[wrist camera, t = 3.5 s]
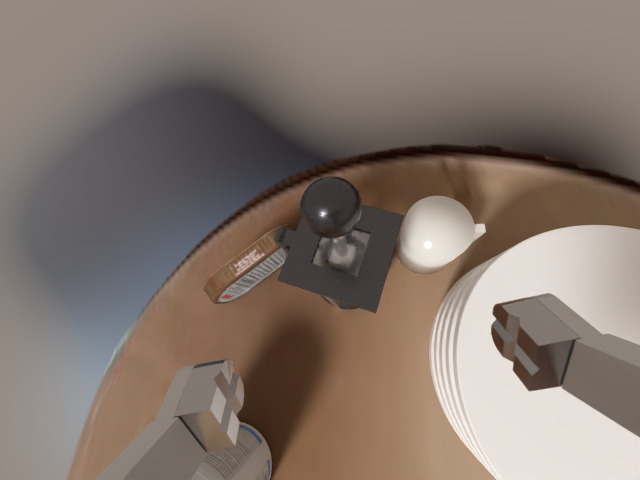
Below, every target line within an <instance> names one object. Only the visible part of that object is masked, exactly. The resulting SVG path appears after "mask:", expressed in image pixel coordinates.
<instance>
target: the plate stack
mask: <svg viewBox="0 0 640 480" xmlns="http://www.w3.org/2000/svg"><path fill="white" fill-rule="evenodd" d="M546 293H550V294H553V295H555V296H556V297H557V298H559V299H560V300H561V301H562V302H563V303H565V304H566V305H567V306H568V307H570V308H571V309H572V310H573V311H575V312H576V313H577V314H578V315H579V316H581V317H582V318H583V319H584V320H586V321H587V322H588V323H589V324H591V325H592V326H593V327H594V328H595V329H597V330H598V331H599V332H600V333H602V334H612V335H614V336H617V337H620V338H622V339H625V340H628V341H630V342H633V343H636V344H638V345H640V230H639V229H633V228H627V227H620V226H610V225H580V226H571V227H565V228H559V229H555V230H551V231H547V232H544V233H541V234H538V235H535V236H533V237H531V238H528V239H526V240H524V241H522V242H520V243H518V244H517V245H515V246H513V247H511V248H510V249H508V250H506V251H504V252H502V253H500V254H499V255H497V256H495V257H493V258H491V259H490V260H488V261H486V262H484V263H482V264H481V265H479V266H477V267H475V268H473V269H472V270H470V271H469V272H467V273H466V274H465V275H464V276H462V277H461V278H460V279H459V280H458V281H457V282H456V283H455V284H454V285H453V286H452V287H451V289H450V290H449V291H448V292H447V294H446V295H445V297H444V298H443V300H442V302H441V304H440V306H439V308H438V310H437V312H436V315H435V318H434V321H433V325H432V329H431V335H430V345H429V358H430V368H431V374H432V379H433V383H434V387H435V390H436V393H437V396H438V399H439V401H440V404H441V406H442V408H443V411H444V413H445V415H446V416H447V418H448V420H449V422H450V424H451V425H452V427H453V428H454V430H455V432H456V433H457V434H458V436H459V437H460V439H461V440H462V441H463V443H464V444H465V445H466V446H467V447H468V449H469V450H470V451H471V452H472V453H473V454H474V455H475V456H476V458H477V459H478V460H479V461H480V462H481V463H482V464H483V465H484V466H485V467H486V469H487V470H488V471H489V472H490V473H491V474H492V475H493V476H494V477H495V479H496V480H640V437H638V436H636V435H635V434H633V433H632V432H630V431H628V430H627V429H625V428H624V427H622V426H621V425H619V424H617V423H616V422H614V421H613V420H611V419H609V418H608V417H606V416H605V415H603V414H602V413H600V412H598V411H597V410H595V409H594V408H592V407H590V406H589V405H587V404H586V403H584V402H583V401H581V400H579V399H578V398H576V397H575V396H573V395H571V394H570V393H568V392H567V391H565V390H564V389H562V386H561V387H554V388H548V389H542V390H535V391H528V390H527V388H526V387H525V386H524V384H523V383H522V382H521V381H520V379H519V378H518V377H517V375H516V374H515V373H514V371H513V362H512V361H510V360H508V359H506V358H504V357H502V355H501V354H500V352H499V351H498V350H497V348H496V346H495V344H494V342H493V339H492V335H491V325H492V324H493V322H494V321H495V320H496V318H495V317H494V315H493V314H492V313H493V307H494V306H495V304H498V303H503V302H508V301H512V300H517V299H522V298H526V297H532V296H537V295H541V294H546Z"/></svg>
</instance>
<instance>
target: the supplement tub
mask: <svg viewBox="0 0 640 480" xmlns="http://www.w3.org/2000/svg"><path fill="white" fill-rule="evenodd" d="M206 453H207V455H206V457H205V459H204V460H203V462H202V463H201V465H200V466H199V468H198V470H197V471H196V473H195V474H194V476H193V477H192V479H191V480H270V477H271V471H272V460H271V454H270V450H269V447H268V444H267V442H266V440H265V439H264V437H263V436H262V435H261V434H260V432H259V431H257V430H256V429H255V428H254V427H252V426H251V425H249V424H246V423H243V422H240V424H239V429H238V434H237V440H236V445H235V446H234V447H229V448H225V449H220V450H216V451H211V452H206Z"/></svg>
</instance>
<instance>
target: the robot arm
mask: <svg viewBox="0 0 640 480" xmlns="http://www.w3.org/2000/svg"><path fill="white" fill-rule="evenodd" d="M492 314H493V315H494V317H495V318H496V320H495V321H494V322H493V324H492V325H491V335H492V339H493V342H494V344H495V346H496V348H497V350H498V351H499V352H500V354H501V355H502V357H504V358H506V359H508V360H510V361H512V362H513V371H514V373H515V374H516V375H517V377H518V378H519V379H520V381H521V382H522V383H523V384H524V386H525V387H526V388H527V390H528V391H535V390H542V389H548V388H554V387H561V386H562V389H564V390H565V391H567V392H568V393H570V394H571V395H573V396H575V397H576V398H578V399H579V400H581V401H583V402H584V403H586V404H587V405H589V406H590V407H592V408H594V409H595V410H597V411H598V412H600V413H602V414H603V415H605V416H606V417H608V418H609V419H611V420H613V421H614V422H616V423H617V424H619V425H621V426H622V427H624V428H625V429H627V430H628V431H630V432H632V433H633V434H635V435H636V436H638V437H640V345H638V344H636V343H633V342H630V341H628V340H625V339H622V338H620V337H617V336H614V335H612V334H602V333H600V332H599V331H598V330H597V329H595V328H594V327H593V326H592V325H591V324H589V323H588V322H587V321H586V320H584V319H583V318H582V317H581V316H579V315H578V314H577V313H576V312H575V311H573V310H572V309H571V308H570V307H568V306H567V305H566V304H565V303H563V302H562V301H561V300H560V299H559V298H557V297H556V296H555V295H553V294H550V293H546V294H541V295H537V296H532V297H526V298H522V299H517V300H512V301H508V302H503V303H498V304H495V306H494V307H493V313H492ZM233 369H234V365H233V363H232V362H231V360H230V359H224V360H218V361H213V362H207V363H201V364H196V365H191V366H186V367H181V368H180V369H179V370H178V371H177V372H176V374H175V376H174V379H173V381H172V383H171V385H170V388H169V390H168V392H167V395H166V397H165V399H164V401H163V404H162V406H161V408H160V410H159V413H158V415H157V417H156V419H155V421H154V422H150V423H149V424H148V425H147V426H146V427H145V428H144V429H143V430H142V431H141V432H140V433H139V434H138V435H137V436H136V437H135V438H134V439H133V440H132V441H131V442H130V443H129V444H128V445H127V446H126V447H125V448H124V449H123V450H122V451H121V452H120V453H119V455H118V456H117V457H116V458H115V459H114V460H113V461H112V462H111V463H110V464H109V465H108V466H107V467H106V468H105V469H104V470H103V471H102V472H101V473H100V474H99V475H98V476H97V477H96V478H95V479H94V480H191V479H192V477H193V476H194V474H195V473H196V471H197V470H198V468H199V466H200V465H201V463H202V462H203V460H204V459H205V457H206V455H207V453H206V452H211V451H216V450H220V449H225V448H229V447H234V446H235V445H236V440H237V434H238V429H239V424H240V422H239V420H238V418H237V416H236V415H237V414H238V412H239V411H240V410H241V408H242V407H243V401H244V386H243V382H242V380H241V378H240V376H239V375H238V374H236V373H234V372H233Z"/></svg>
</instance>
